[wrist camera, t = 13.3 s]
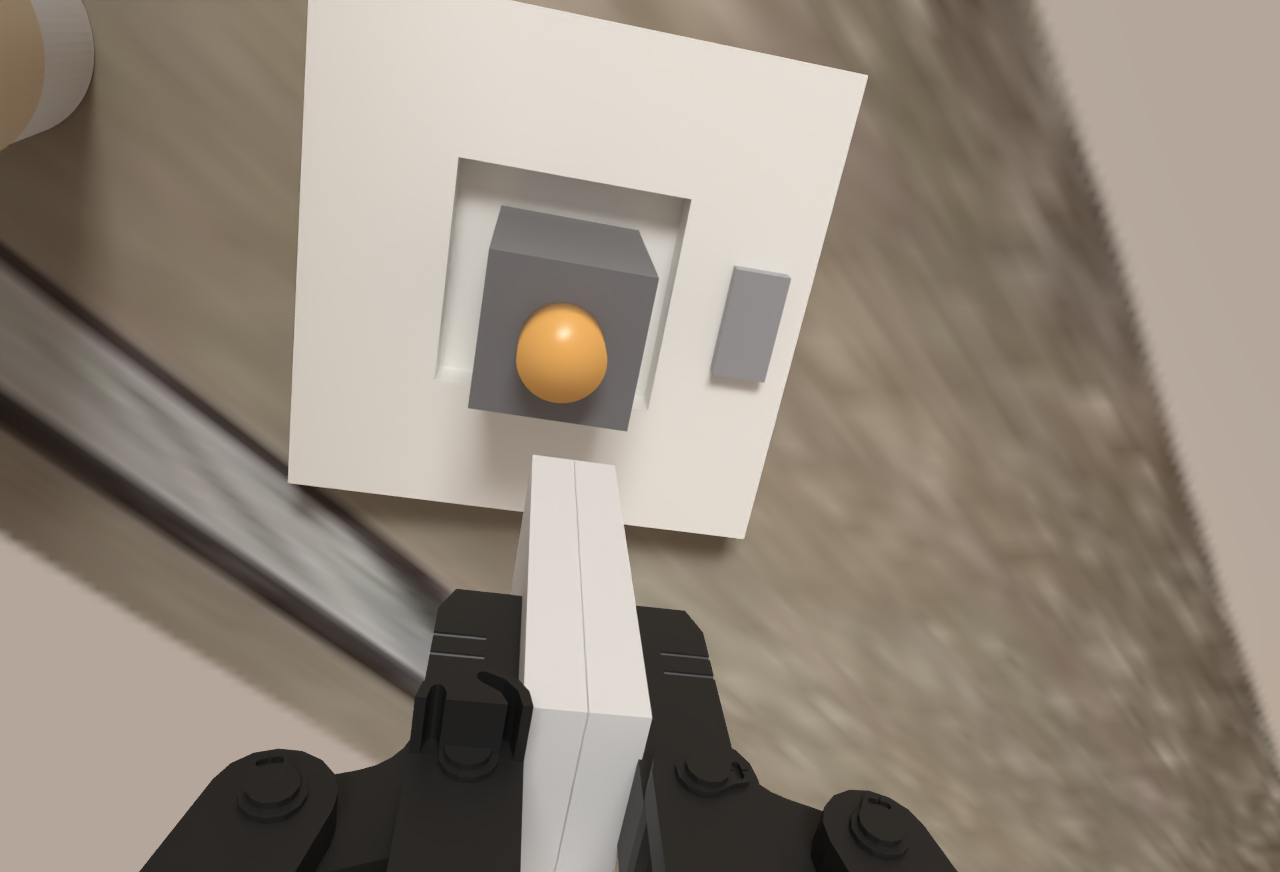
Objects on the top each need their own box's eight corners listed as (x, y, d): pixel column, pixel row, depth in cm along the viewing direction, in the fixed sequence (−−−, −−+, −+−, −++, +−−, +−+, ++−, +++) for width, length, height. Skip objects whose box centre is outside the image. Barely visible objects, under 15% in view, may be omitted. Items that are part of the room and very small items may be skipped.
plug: (501, 205, 32) (485, 260, 25) (638, 230, 33) (665, 291, 26) (483, 337, 34) (463, 427, 27) (613, 358, 35) (630, 451, 27)
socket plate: (325, -38, 29) (305, -44, 27) (850, 72, 32) (874, 76, 30) (300, 460, 36) (283, 490, 34) (734, 515, 39) (746, 546, 37)
